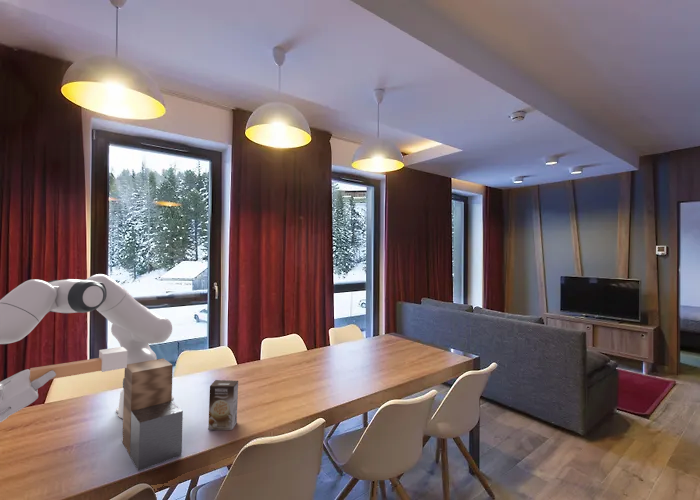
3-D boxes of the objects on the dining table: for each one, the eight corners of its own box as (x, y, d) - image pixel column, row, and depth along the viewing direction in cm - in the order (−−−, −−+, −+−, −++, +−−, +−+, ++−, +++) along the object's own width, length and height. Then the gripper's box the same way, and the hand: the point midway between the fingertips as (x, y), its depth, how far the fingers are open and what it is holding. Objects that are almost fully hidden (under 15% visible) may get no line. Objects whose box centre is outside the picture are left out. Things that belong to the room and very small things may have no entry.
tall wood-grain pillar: (129, 455, 109) (132, 372, 110) (122, 442, 117) (124, 364, 117) (170, 441, 117) (172, 364, 118) (161, 430, 125) (163, 358, 126)
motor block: (138, 471, 101) (139, 422, 101) (129, 455, 109) (131, 411, 109) (181, 455, 109) (182, 410, 110) (170, 442, 117) (172, 400, 117)
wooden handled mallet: (30, 384, 87) (30, 364, 87) (29, 378, 92) (30, 359, 92) (126, 367, 102) (127, 350, 102) (122, 363, 106) (123, 346, 106)
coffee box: (207, 430, 126) (208, 385, 126) (213, 421, 132) (214, 379, 132) (232, 430, 126) (233, 386, 126) (237, 421, 132) (238, 379, 133)
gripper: (-25, 413, 76) (49, 370, 84) (-18, 387, 91) (44, 352, 99) (-5, 433, 78) (64, 389, 86) (-1, 404, 93) (58, 369, 101)
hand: (54, 369), depth 93 cm, fingers closed on wooden handled mallet, 3 cm apart
